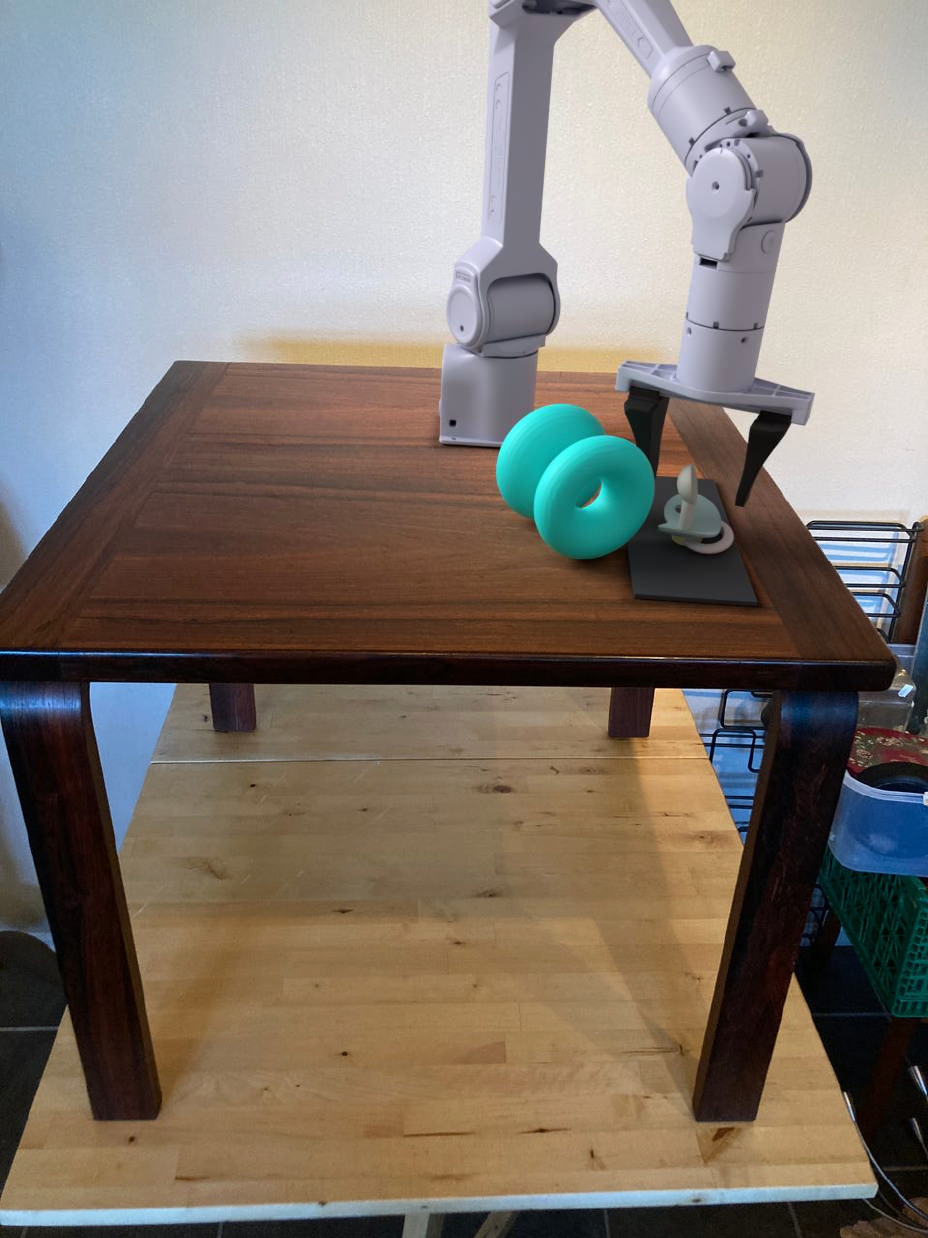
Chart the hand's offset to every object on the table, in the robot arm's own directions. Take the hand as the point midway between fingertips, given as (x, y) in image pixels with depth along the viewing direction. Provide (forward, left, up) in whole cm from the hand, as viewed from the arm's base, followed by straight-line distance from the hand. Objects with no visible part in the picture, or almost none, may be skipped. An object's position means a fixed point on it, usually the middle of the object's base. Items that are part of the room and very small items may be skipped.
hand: (694, 491), depth 78 cm
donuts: (-10, -1, -4) cm, 11 cm away
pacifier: (+1, 0, -4) cm, 4 cm away
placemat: (0, +1, -4) cm, 5 cm away
